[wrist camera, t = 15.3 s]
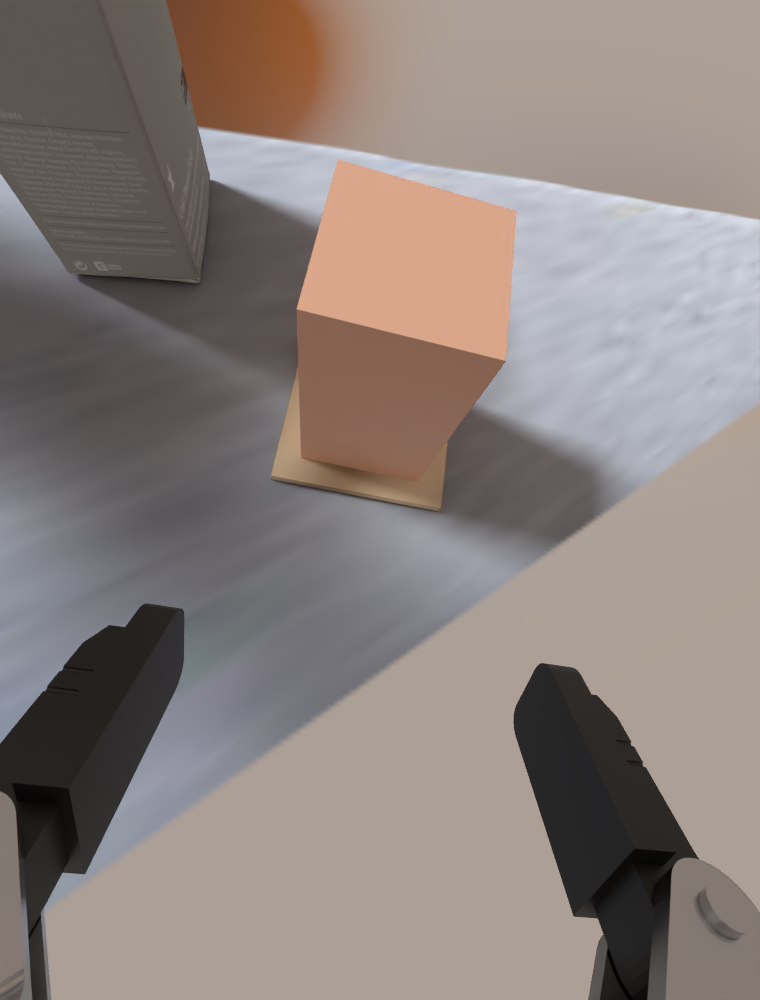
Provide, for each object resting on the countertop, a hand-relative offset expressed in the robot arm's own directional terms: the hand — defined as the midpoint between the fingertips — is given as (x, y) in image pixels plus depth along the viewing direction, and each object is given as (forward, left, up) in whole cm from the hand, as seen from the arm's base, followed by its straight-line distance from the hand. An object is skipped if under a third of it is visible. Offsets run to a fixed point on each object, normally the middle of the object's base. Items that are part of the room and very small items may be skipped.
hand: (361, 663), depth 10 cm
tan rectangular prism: (0, +11, -8) cm, 14 cm away
